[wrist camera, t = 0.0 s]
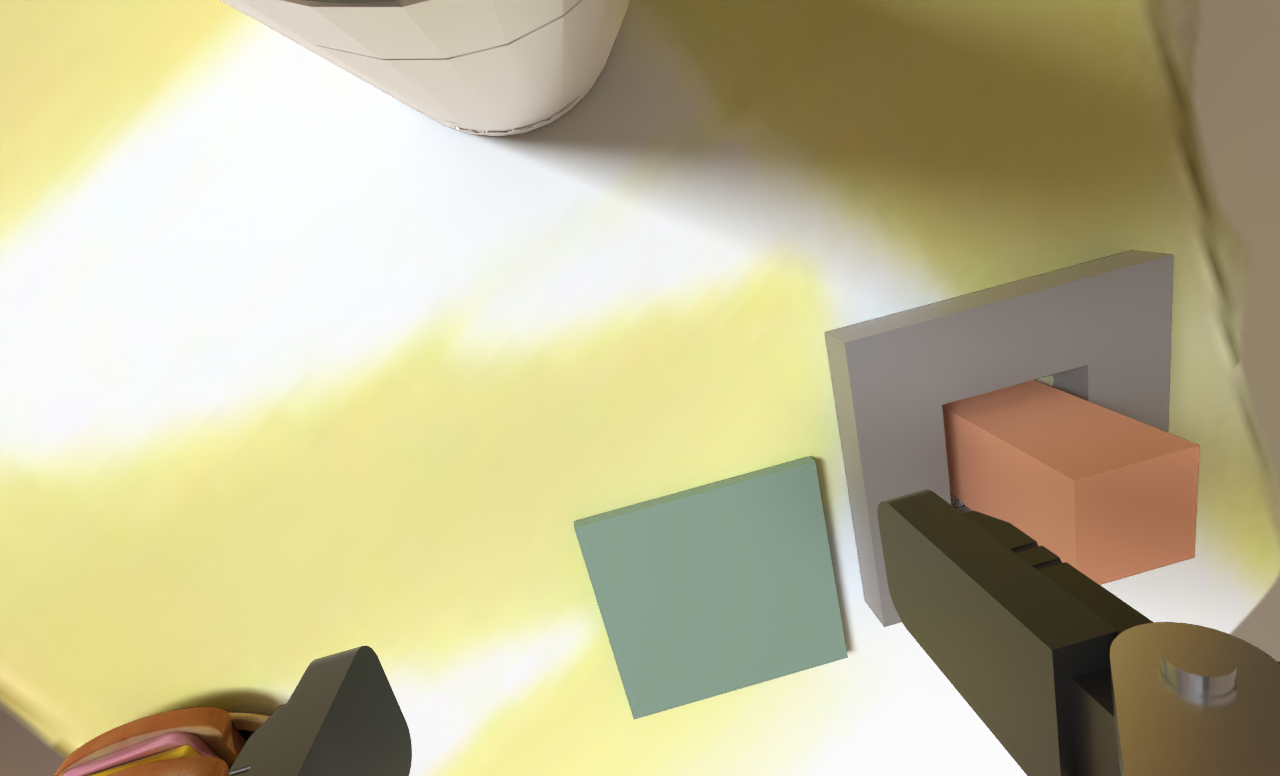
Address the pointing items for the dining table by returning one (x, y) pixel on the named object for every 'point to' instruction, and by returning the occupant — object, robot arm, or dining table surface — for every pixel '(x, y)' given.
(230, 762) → the toy sandwich meal
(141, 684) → the dining table surface
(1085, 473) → the terracotta block
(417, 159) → the dining table surface
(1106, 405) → the pocket plate
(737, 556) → the rubber pad
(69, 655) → the dining table surface
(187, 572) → the dining table surface
